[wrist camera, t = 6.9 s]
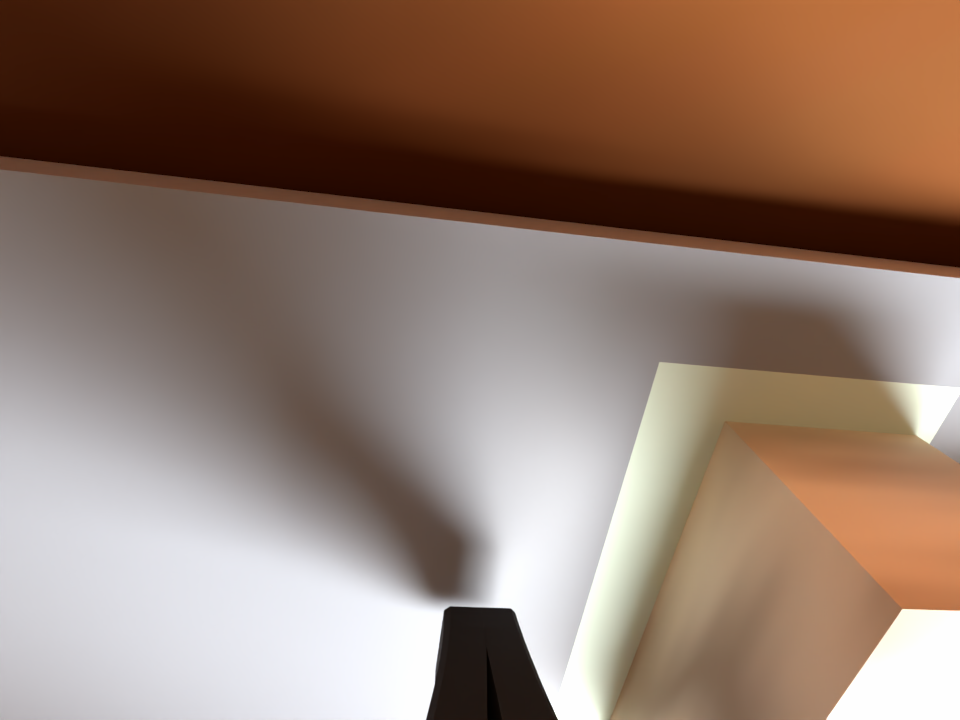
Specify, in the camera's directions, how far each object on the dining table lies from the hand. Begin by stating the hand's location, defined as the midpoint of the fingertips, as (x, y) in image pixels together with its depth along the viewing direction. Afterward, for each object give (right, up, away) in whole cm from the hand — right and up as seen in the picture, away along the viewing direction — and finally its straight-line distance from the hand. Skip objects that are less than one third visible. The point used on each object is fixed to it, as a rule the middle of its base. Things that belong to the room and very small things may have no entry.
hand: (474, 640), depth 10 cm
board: (+2, 0, +3) cm, 4 cm away
